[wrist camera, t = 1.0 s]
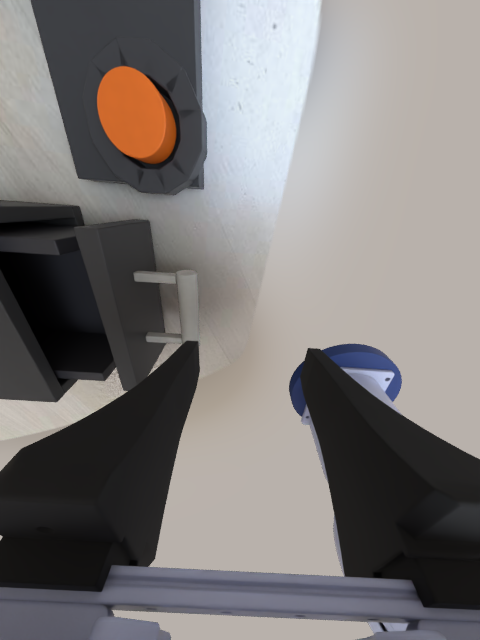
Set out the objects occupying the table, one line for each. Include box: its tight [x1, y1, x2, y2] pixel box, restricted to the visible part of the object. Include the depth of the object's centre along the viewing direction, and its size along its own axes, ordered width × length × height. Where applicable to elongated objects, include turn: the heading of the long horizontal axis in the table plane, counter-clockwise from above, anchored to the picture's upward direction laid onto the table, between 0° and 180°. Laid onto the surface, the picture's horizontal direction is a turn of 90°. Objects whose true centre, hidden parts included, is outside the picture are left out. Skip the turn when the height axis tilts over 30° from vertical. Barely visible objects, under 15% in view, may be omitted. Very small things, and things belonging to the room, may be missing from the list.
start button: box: [97, 66, 176, 164], centre depth 10 cm, size 3×3×2 cm
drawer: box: [0, 220, 200, 391], centre depth 15 cm, size 18×11×6 cm, turn 86°
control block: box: [31, 0, 207, 195], centre depth 11 cm, size 10×8×4 cm
